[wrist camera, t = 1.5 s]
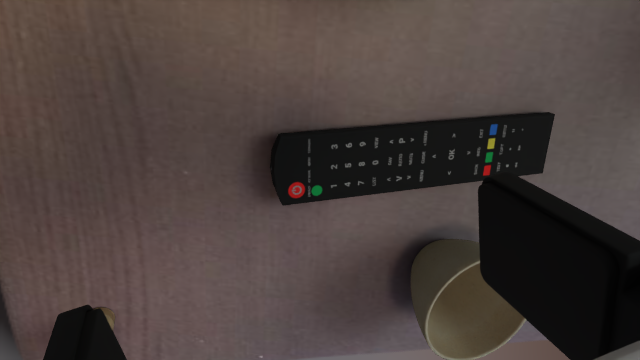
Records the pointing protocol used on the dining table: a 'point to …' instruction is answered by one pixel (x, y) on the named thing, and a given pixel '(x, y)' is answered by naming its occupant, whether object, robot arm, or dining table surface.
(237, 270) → the dining table surface
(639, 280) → the robot arm
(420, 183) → the remote control
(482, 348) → the flower pot
